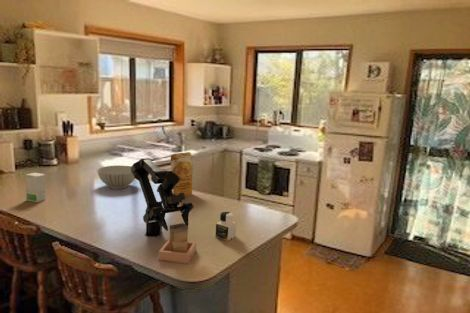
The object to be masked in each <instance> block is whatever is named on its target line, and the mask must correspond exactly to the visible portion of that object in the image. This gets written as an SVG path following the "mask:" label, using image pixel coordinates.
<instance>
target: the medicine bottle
mask: <svg viewBox="0 0 470 313" xmlns="http://www.w3.org/2000/svg"><path fill="white" fill-rule="evenodd" d="M236 230H237V222H235V221H234V214H233V213H232V212H231V211H222V212H221V213H220V217H219V221H218V222H216V223H215V237H216V238H218V239H220V240H224V241H231V238H232V239H233V238H235V237H236V234H237V231H236Z"/></svg>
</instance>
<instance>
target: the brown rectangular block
mask: <svg viewBox="0 0 470 313" xmlns="http://www.w3.org/2000/svg"><path fill="white" fill-rule="evenodd" d="M188 230H189V225H188V226H186V225H185V223H184V222H182V223H175V224H170V225H169V239H170V240H169V239H168V240H169V251H172V252H180V253H187V241H188V240H189V239H188V238H189V236H188V234H189V231H188Z"/></svg>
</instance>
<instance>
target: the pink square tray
mask: <svg viewBox="0 0 470 313" xmlns="http://www.w3.org/2000/svg"><path fill="white" fill-rule="evenodd" d="M169 240H170V238H168V240H166V241H165V243H164V244H163V245H162V247H161V248H160V249H159V250H158V261H160V262H168V263H175V264H183V265H189V264H190V262H191V260H192V259H193V257H194V255H195V254H196V251H197V242H195V241H188V240H187V253H180V252H172V251H169Z"/></svg>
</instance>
